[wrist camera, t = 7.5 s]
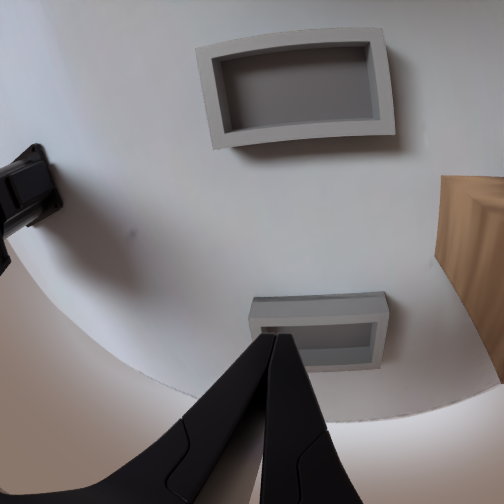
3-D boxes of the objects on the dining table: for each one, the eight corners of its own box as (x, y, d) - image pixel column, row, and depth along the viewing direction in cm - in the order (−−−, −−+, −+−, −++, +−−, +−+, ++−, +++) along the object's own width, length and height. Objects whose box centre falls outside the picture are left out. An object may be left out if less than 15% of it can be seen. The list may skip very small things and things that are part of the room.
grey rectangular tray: (224, 143, 19) (213, 149, 16) (208, 53, 16) (195, 48, 14) (384, 129, 16) (395, 134, 14) (372, 36, 14) (382, 28, 12)
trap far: (263, 351, 27) (259, 372, 24) (253, 297, 24) (247, 318, 22) (376, 347, 24) (380, 368, 22) (383, 291, 22) (389, 312, 19)
